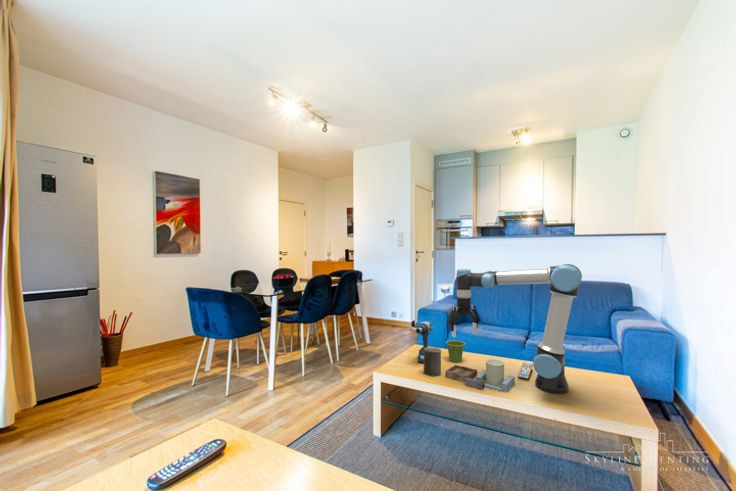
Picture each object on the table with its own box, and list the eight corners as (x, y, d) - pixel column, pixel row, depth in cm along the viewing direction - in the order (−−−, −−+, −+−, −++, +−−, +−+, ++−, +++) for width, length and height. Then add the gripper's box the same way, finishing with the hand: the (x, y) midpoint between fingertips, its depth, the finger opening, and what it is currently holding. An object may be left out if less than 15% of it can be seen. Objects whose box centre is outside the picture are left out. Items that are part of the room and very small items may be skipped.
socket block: (515, 383, 180) (515, 376, 180) (506, 393, 168) (506, 385, 168) (485, 376, 190) (485, 369, 190) (474, 384, 178) (474, 377, 178)
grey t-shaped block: (484, 387, 174) (484, 380, 174) (481, 389, 171) (481, 382, 171) (467, 382, 180) (467, 375, 180) (464, 385, 177) (464, 378, 177)
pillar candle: (425, 376, 190) (426, 349, 189) (422, 370, 199) (422, 344, 199) (442, 376, 190) (443, 349, 190) (438, 370, 200) (439, 344, 200)
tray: (477, 375, 190) (477, 369, 190) (467, 383, 180) (467, 376, 180) (455, 370, 198) (455, 364, 198) (445, 377, 188) (445, 370, 188)
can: (489, 379, 186) (489, 357, 186) (506, 383, 180) (506, 361, 180) (482, 384, 179) (482, 361, 179) (500, 389, 173) (500, 365, 173)
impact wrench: (411, 366, 205) (411, 325, 205) (423, 355, 225) (423, 318, 225) (424, 368, 201) (424, 326, 201) (435, 357, 221) (435, 319, 221)
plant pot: (453, 356, 224) (453, 339, 224) (468, 361, 215) (468, 343, 215) (441, 360, 216) (441, 342, 216) (457, 365, 207) (457, 346, 207)
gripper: (478, 294, 195) (479, 332, 195) (440, 297, 187) (440, 336, 186) (487, 296, 188) (487, 335, 187) (447, 299, 179) (448, 339, 179)
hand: (464, 335), depth 187 cm, fingers open, 13 cm apart
